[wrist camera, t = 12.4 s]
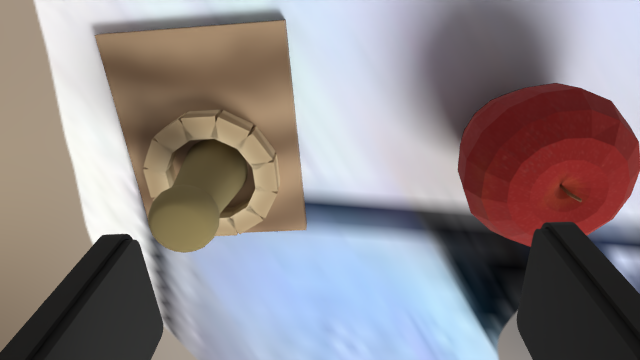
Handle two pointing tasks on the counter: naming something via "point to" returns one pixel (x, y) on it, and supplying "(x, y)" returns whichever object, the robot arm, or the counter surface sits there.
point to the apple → (547, 161)
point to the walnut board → (209, 97)
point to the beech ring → (230, 133)
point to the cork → (197, 196)
